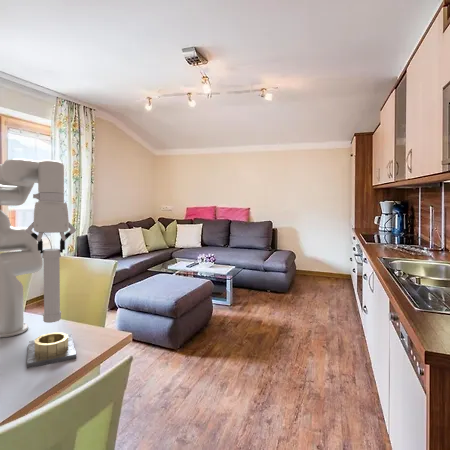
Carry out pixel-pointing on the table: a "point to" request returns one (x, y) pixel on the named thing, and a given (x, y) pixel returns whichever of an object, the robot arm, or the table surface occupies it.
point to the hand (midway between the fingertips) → (51, 251)
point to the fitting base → (50, 349)
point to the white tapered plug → (51, 285)
